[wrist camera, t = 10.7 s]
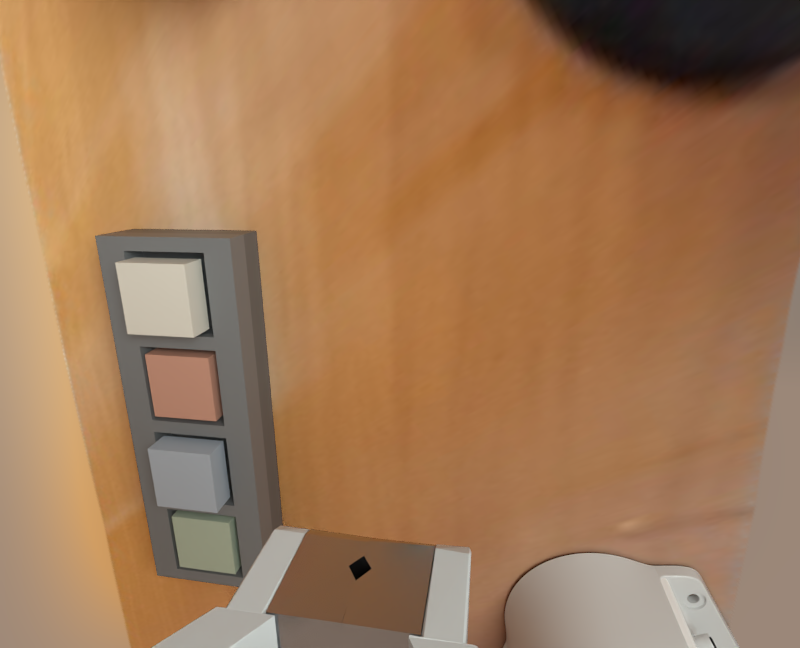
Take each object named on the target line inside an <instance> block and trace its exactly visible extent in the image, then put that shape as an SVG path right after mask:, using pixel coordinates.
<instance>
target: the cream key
mask: <svg viewBox="0 0 800 648" xmlns="http://www.w3.org/2000/svg"><path fill="white" fill-rule="evenodd" d="M115 265H116V271H117V276H118V282H119V288H120V294H121V299H122V305H123V311H124V316H125V322H126V328H127V334H134V335H153V336H171V337H190V338H194V337H196V336H198V335H200V334H201V333H203V332H205V331H206V330H208V329H209V321H208V313H207V305H206V297H205V289H204V281H203V273H202V265H201V259H182V258H143V257H134V258H130V259H127V260H123V261H119V262H115Z"/></svg>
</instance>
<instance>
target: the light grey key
mask: <svg viewBox="0 0 800 648" xmlns="http://www.w3.org/2000/svg"><path fill="white" fill-rule="evenodd" d="M148 454H149V460H150V466H151V472H152V477H153V483H154V489H155V494H156V500H157V506H161V507H170V508H178V509H187V510H195V511H204V512H213V513H218V512H219V510H220V509H221V508H222V507H223V505H224V504H225V503H226V502H227V500H228V499H229V498H230V491H229V483H228V475H227V467H226V459H225V451H224V443H223V441H218V440H207V439H196V438H185V437H174V436H163V437H162V438H160V439H159V440H158V441H157V442H155V443H154V444H153V445H152V446H151V447H149V448H148Z"/></svg>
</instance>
